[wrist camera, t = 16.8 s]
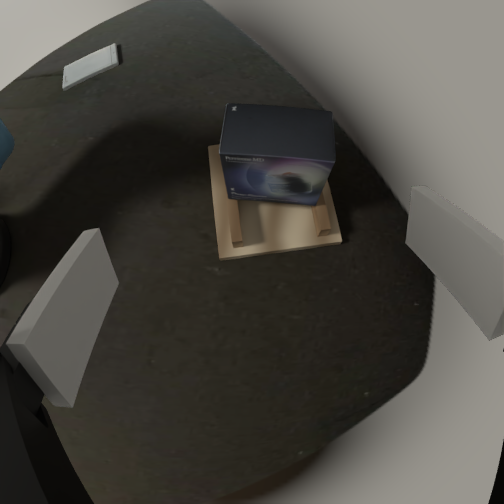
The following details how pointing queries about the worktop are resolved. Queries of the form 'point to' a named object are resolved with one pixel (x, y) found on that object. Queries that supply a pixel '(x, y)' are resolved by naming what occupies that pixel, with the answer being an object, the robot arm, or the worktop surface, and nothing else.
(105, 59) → the hard drive
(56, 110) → the worktop surface
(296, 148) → the small box
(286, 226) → the tray
